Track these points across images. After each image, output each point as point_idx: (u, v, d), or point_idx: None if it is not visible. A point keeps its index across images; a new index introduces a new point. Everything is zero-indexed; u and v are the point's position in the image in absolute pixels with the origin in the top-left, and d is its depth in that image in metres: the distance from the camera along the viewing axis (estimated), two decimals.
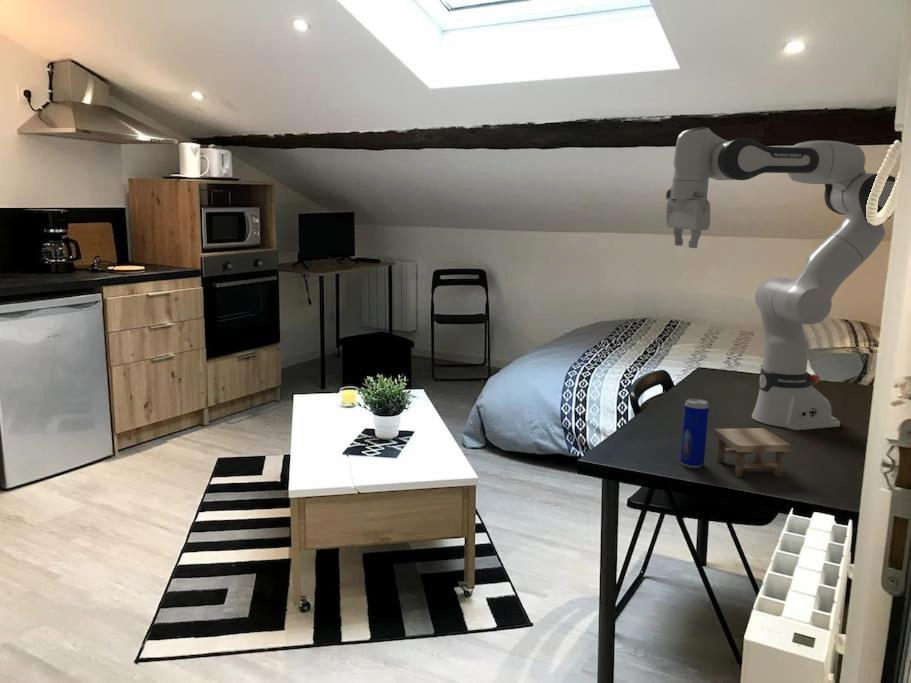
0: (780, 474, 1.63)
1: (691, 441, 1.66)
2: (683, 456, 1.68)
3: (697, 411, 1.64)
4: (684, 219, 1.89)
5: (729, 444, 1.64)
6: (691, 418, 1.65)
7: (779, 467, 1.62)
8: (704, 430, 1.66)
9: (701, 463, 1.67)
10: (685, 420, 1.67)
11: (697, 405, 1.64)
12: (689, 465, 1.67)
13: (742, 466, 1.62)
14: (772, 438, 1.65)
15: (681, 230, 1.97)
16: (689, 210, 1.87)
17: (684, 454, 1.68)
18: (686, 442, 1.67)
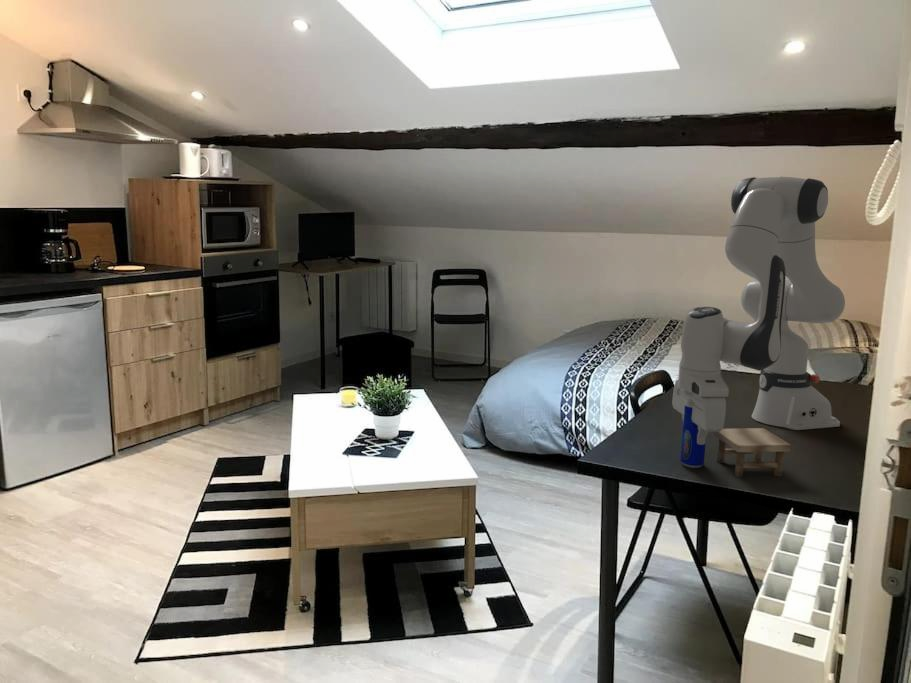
0: (780, 474, 1.63)
1: (691, 441, 1.66)
2: (683, 456, 1.68)
3: None
4: None
5: (729, 444, 1.64)
6: None
7: (779, 467, 1.62)
8: None
9: (701, 463, 1.67)
10: (685, 420, 1.67)
11: None
12: (689, 465, 1.67)
13: (742, 466, 1.62)
14: (772, 438, 1.65)
15: None
16: None
17: (684, 454, 1.68)
18: (686, 442, 1.67)
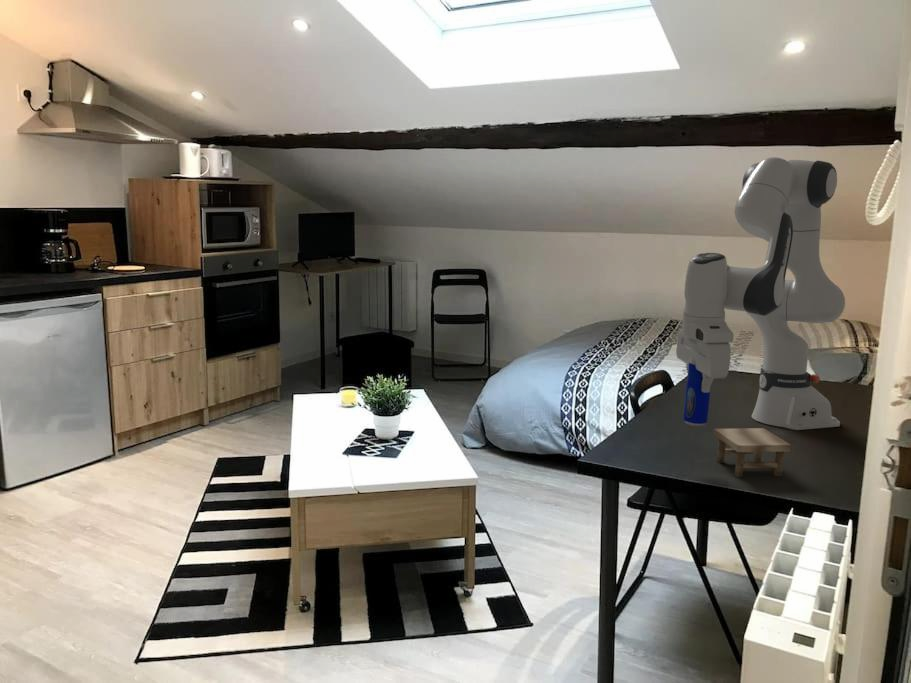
0: (780, 474, 1.63)
1: (695, 399, 1.65)
2: (686, 414, 1.67)
3: None
4: None
5: (729, 444, 1.64)
6: (695, 376, 1.64)
7: (779, 467, 1.62)
8: None
9: (704, 421, 1.66)
10: (689, 378, 1.65)
11: None
12: (692, 423, 1.66)
13: (742, 466, 1.62)
14: (772, 438, 1.65)
15: None
16: None
17: (687, 412, 1.66)
18: (689, 400, 1.65)
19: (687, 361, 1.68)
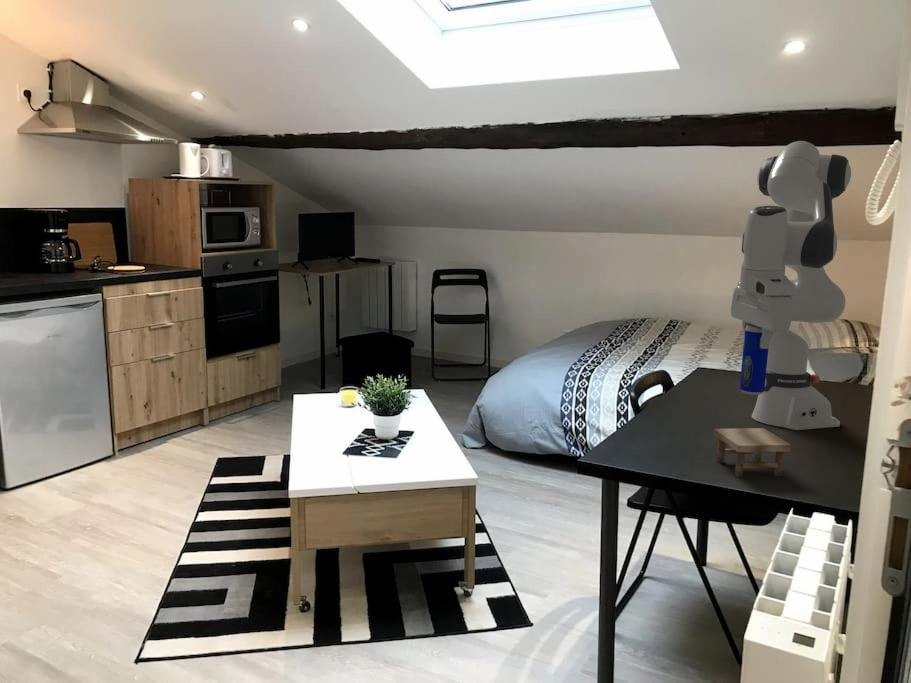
0: (780, 474, 1.63)
1: (752, 367, 1.61)
2: (743, 383, 1.63)
3: (759, 335, 1.60)
4: None
5: (729, 444, 1.64)
6: (752, 343, 1.61)
7: (779, 467, 1.62)
8: (765, 355, 1.61)
9: (762, 390, 1.63)
10: (745, 345, 1.62)
11: (759, 329, 1.60)
12: (750, 392, 1.63)
13: (742, 466, 1.62)
14: (772, 438, 1.65)
15: None
16: None
17: (744, 381, 1.63)
18: (746, 368, 1.62)
19: (744, 318, 1.64)
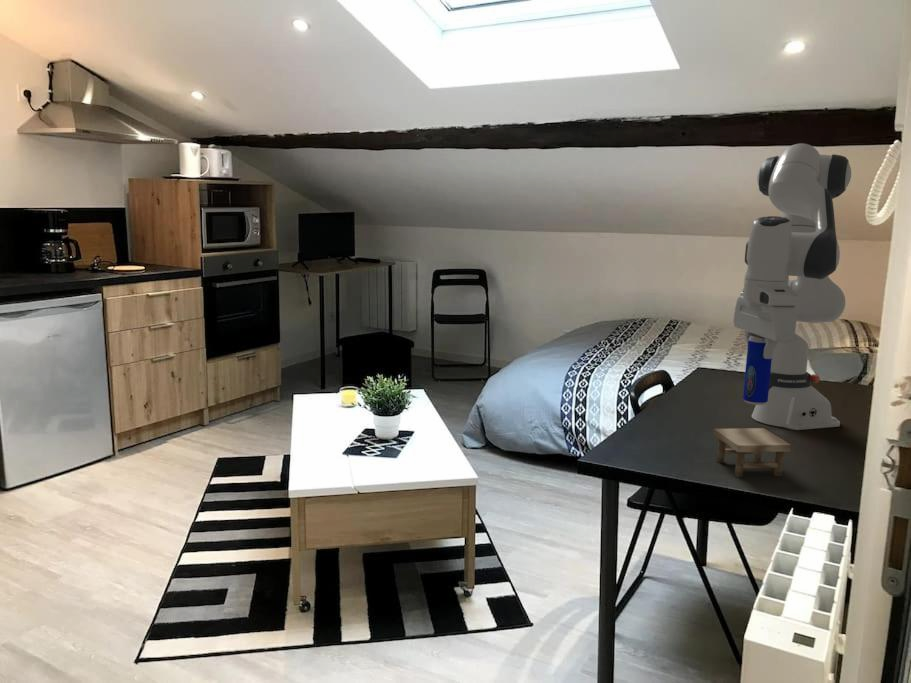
0: (780, 474, 1.63)
1: (755, 377, 1.61)
2: (747, 393, 1.63)
3: (762, 345, 1.60)
4: None
5: (729, 444, 1.64)
6: (756, 353, 1.61)
7: (779, 467, 1.62)
8: (769, 365, 1.61)
9: (765, 400, 1.63)
10: (749, 356, 1.62)
11: (762, 339, 1.60)
12: (753, 402, 1.63)
13: (742, 466, 1.62)
14: (772, 438, 1.65)
15: None
16: None
17: (748, 391, 1.63)
18: (750, 378, 1.62)
19: (747, 328, 1.64)
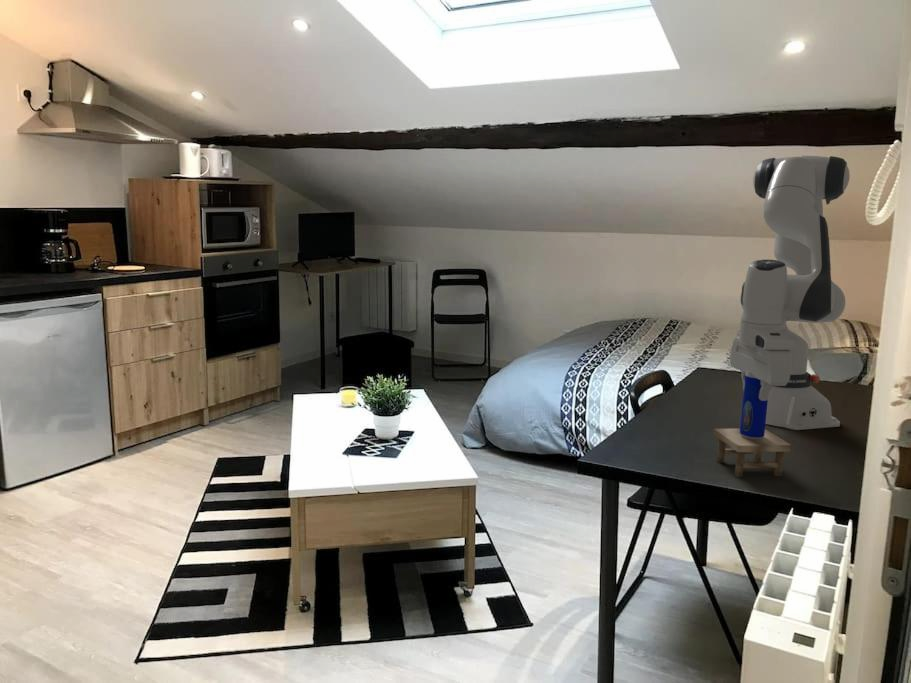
0: (780, 474, 1.63)
1: (752, 412, 1.63)
2: (743, 428, 1.65)
3: (759, 381, 1.61)
4: None
5: (729, 444, 1.64)
6: (752, 389, 1.62)
7: (779, 467, 1.62)
8: (765, 401, 1.62)
9: (762, 435, 1.64)
10: (746, 391, 1.64)
11: None
12: (750, 437, 1.64)
13: (742, 466, 1.62)
14: (772, 438, 1.65)
15: None
16: None
17: (744, 426, 1.64)
18: (746, 413, 1.64)
19: (743, 369, 1.66)
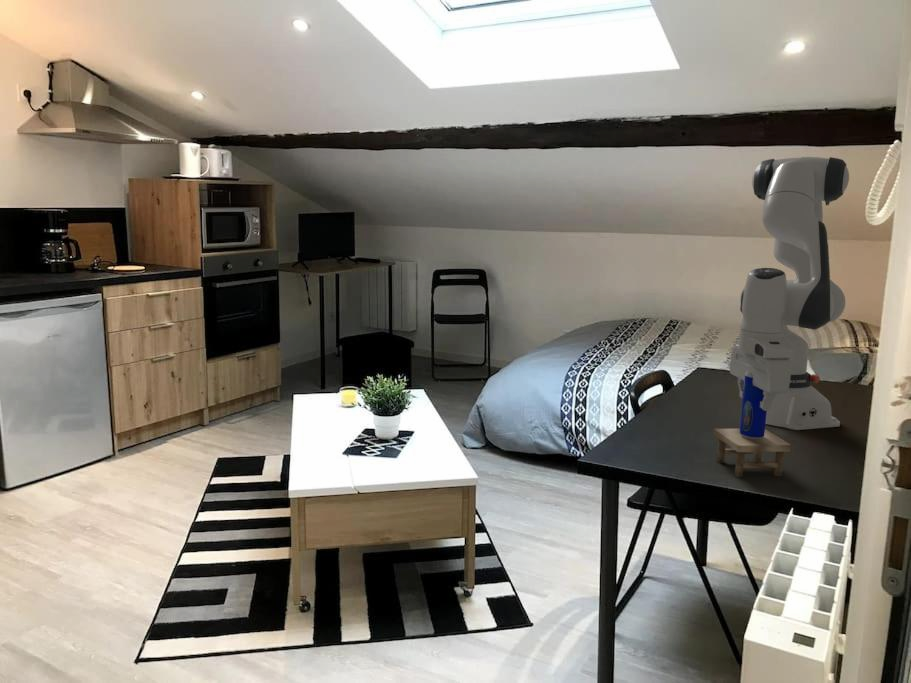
0: (780, 474, 1.63)
1: (752, 412, 1.63)
2: (743, 428, 1.65)
3: None
4: None
5: (729, 444, 1.64)
6: (752, 389, 1.62)
7: (779, 467, 1.62)
8: None
9: (762, 435, 1.64)
10: (746, 391, 1.64)
11: None
12: (750, 437, 1.64)
13: (742, 466, 1.62)
14: (772, 438, 1.65)
15: None
16: None
17: (744, 426, 1.64)
18: (746, 413, 1.64)
19: (742, 377, 1.66)
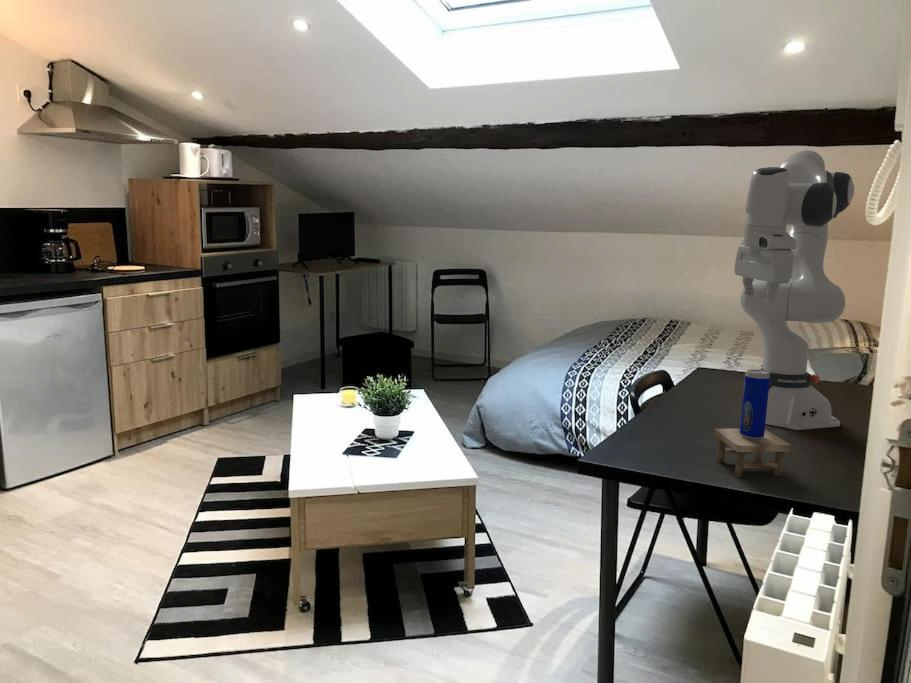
0: (780, 474, 1.63)
1: (752, 412, 1.63)
2: (743, 428, 1.65)
3: (759, 381, 1.61)
4: None
5: (729, 444, 1.64)
6: (752, 389, 1.62)
7: (779, 467, 1.62)
8: (765, 401, 1.63)
9: (762, 435, 1.64)
10: (746, 391, 1.64)
11: (759, 375, 1.61)
12: (750, 437, 1.64)
13: (742, 466, 1.62)
14: (772, 438, 1.65)
15: None
16: None
17: (744, 426, 1.64)
18: (746, 413, 1.64)
19: (747, 274, 1.74)
